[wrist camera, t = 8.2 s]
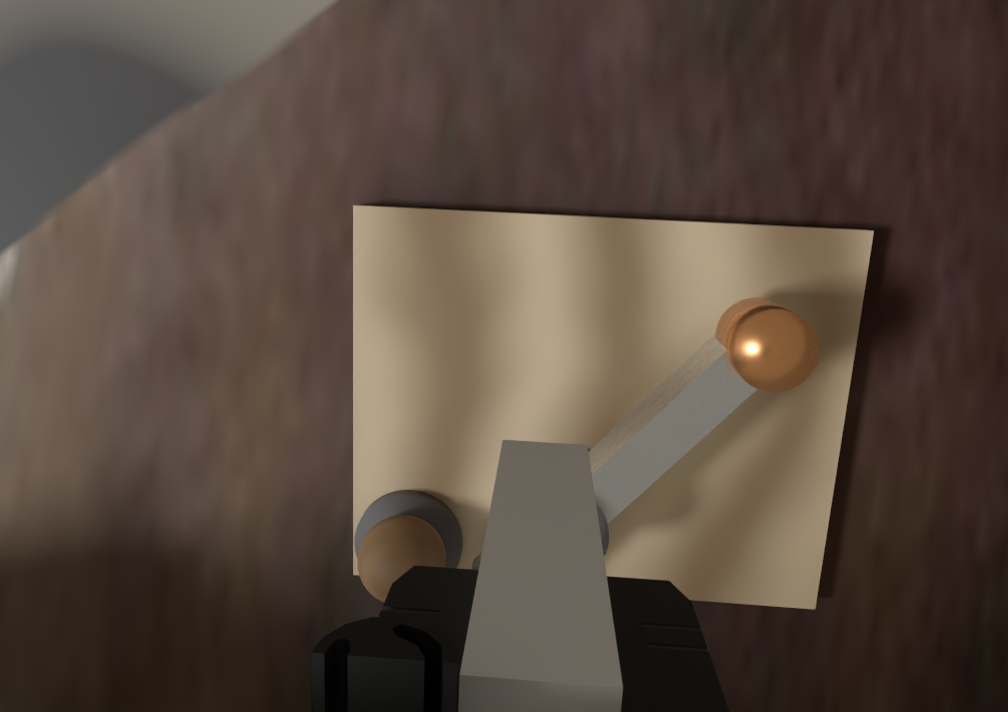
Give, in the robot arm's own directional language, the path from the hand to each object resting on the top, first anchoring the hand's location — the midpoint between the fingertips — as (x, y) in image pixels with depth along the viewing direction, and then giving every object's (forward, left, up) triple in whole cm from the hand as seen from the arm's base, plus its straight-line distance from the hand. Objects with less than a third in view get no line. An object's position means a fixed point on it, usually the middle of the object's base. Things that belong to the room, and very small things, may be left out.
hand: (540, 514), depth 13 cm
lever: (+3, -4, -17) cm, 17 cm away
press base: (+2, -3, -18) cm, 19 cm away
